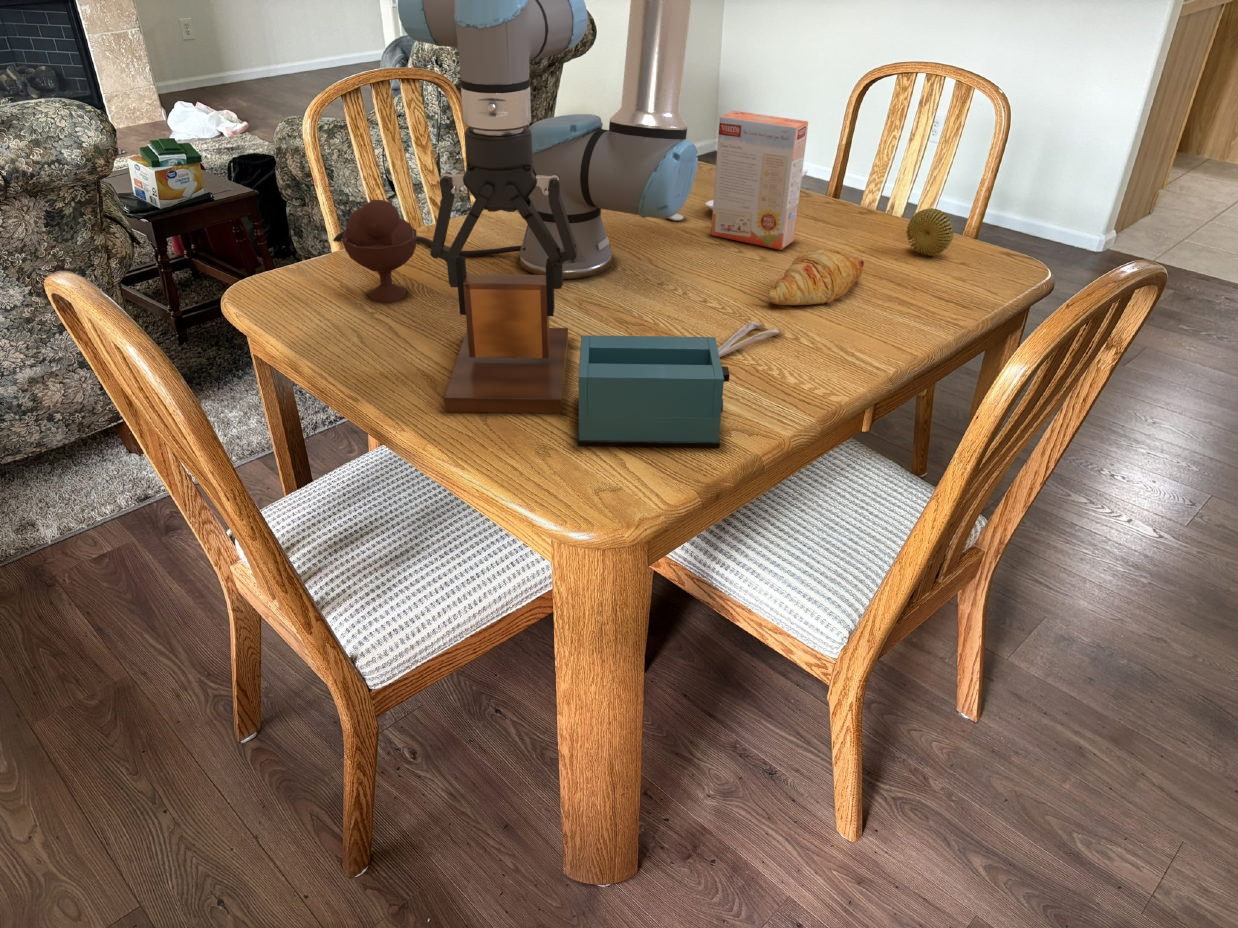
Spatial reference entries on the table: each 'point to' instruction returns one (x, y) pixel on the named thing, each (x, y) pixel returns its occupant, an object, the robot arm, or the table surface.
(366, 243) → the ice cream bowl
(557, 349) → the bread board
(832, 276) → the croissant
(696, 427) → the toaster
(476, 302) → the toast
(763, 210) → the cracker box
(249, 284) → the table surface
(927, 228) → the sea urchin shell
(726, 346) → the tweezers
